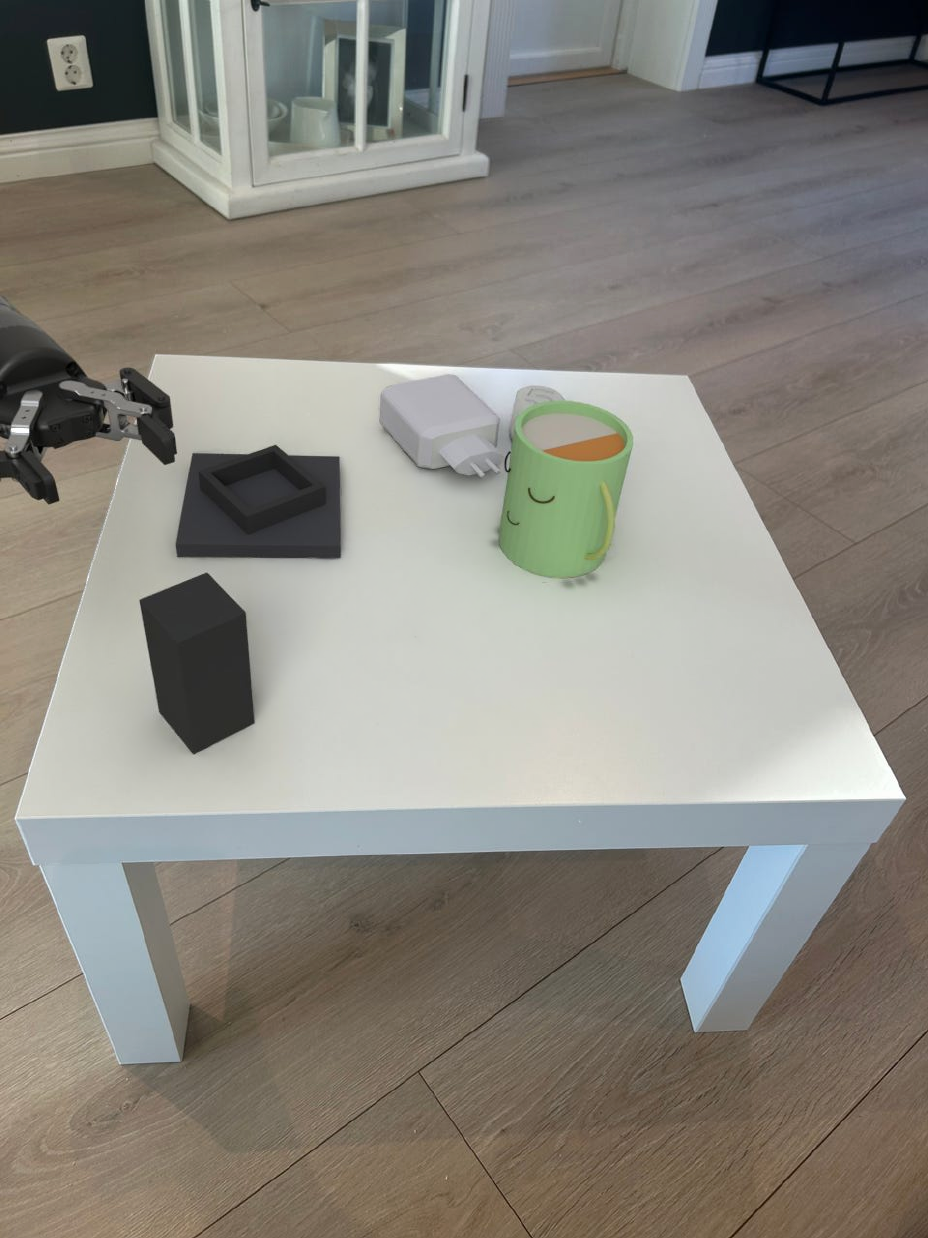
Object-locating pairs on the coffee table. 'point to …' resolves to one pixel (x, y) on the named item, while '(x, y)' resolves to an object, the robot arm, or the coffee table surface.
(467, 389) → the charger
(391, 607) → the coffee table surface
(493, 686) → the coffee table surface
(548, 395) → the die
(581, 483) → the mug
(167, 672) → the tall black rectangular block
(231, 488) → the base pad
